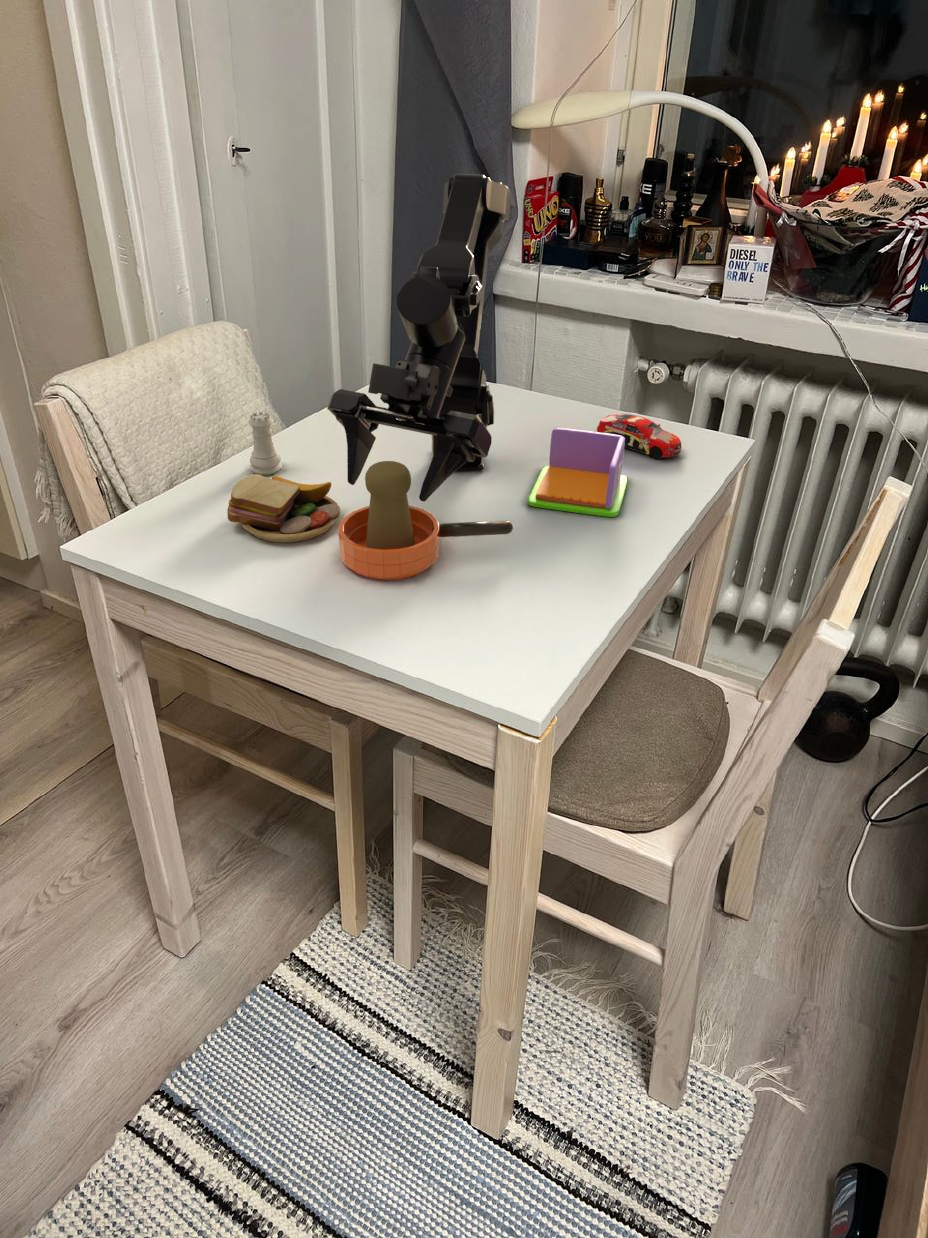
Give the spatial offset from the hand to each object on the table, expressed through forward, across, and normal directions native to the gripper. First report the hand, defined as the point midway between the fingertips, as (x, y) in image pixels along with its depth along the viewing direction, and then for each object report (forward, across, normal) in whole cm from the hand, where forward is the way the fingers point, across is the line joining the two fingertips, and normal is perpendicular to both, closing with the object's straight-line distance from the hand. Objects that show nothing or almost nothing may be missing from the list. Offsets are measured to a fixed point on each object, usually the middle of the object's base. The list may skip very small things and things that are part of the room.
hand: (385, 491), depth 104 cm
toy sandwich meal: (+5, -16, +8) cm, 18 cm away
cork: (+5, 0, +6) cm, 8 cm away
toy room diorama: (-12, +14, +25) cm, 31 cm away
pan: (+6, 0, +6) cm, 9 cm away
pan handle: (+1, +8, +8) cm, 12 cm away
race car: (-25, +17, +38) cm, 49 cm away
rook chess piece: (-3, -27, +16) cm, 31 cm away
